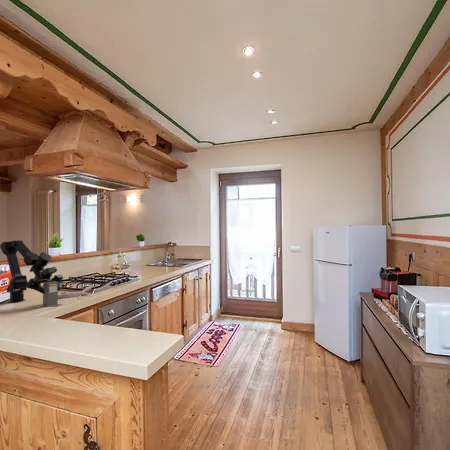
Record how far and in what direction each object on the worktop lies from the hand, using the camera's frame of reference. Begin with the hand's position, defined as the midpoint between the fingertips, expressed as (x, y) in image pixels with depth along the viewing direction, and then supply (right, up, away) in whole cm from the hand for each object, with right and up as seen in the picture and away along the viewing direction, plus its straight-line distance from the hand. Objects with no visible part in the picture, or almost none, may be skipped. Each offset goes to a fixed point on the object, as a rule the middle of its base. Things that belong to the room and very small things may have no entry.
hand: (52, 291), depth 155 cm
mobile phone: (-2, -10, +25) cm, 27 cm away
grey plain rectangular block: (-1, -8, 0) cm, 8 cm away
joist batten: (-1, -8, 0) cm, 8 cm away
